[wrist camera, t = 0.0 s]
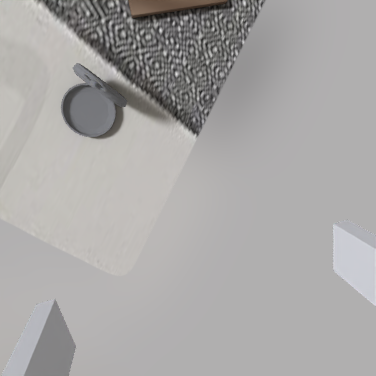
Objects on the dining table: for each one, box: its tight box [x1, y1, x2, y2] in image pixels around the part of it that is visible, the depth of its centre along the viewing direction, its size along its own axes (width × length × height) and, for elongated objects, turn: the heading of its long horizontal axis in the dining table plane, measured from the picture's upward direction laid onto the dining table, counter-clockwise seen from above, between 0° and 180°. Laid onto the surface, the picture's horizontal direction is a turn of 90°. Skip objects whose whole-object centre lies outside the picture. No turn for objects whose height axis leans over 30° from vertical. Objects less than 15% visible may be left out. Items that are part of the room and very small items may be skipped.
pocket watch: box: [61, 63, 127, 137], centre depth 30 cm, size 8×8×10 cm
